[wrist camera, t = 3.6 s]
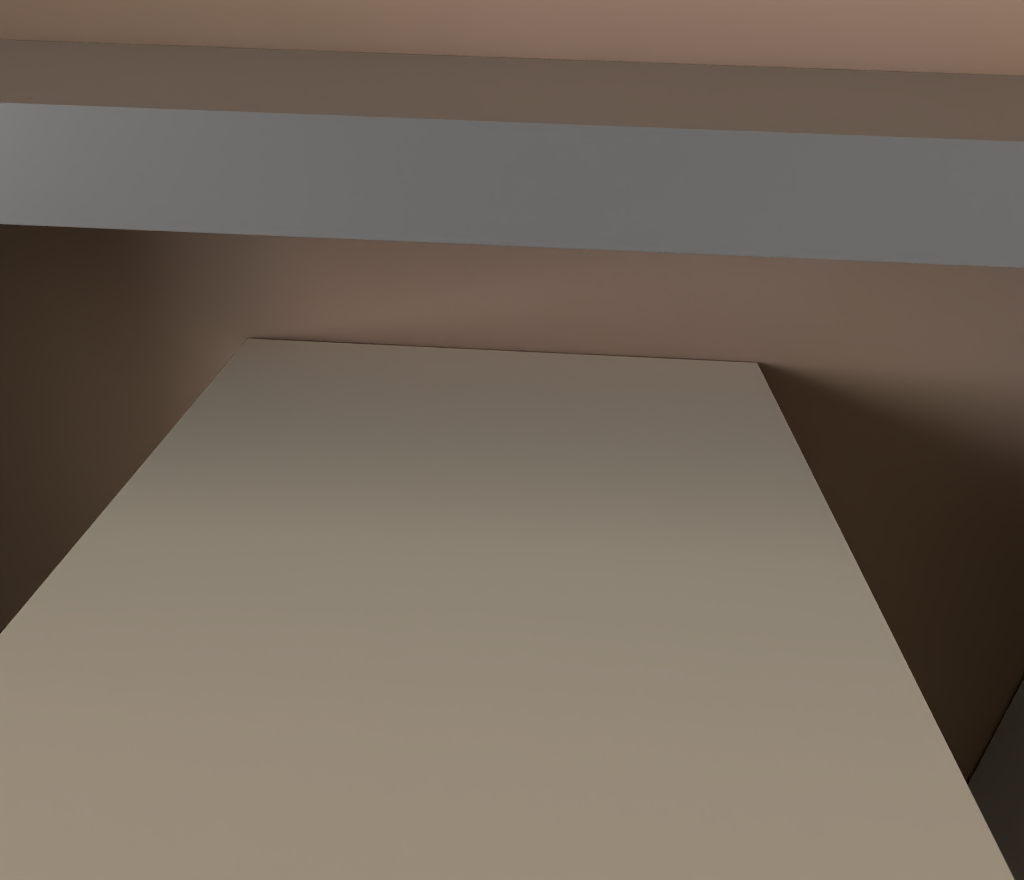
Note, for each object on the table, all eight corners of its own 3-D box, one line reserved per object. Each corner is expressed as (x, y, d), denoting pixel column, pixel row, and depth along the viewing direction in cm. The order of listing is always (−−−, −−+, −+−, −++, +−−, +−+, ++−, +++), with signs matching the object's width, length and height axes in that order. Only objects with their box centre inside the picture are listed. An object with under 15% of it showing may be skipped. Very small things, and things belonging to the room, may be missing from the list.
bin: (71, 898, 13) (-44, 1119, 11) (-348, 27, 7) (-936, 65, 4) (914, 956, 13) (1002, 1202, 10) (1415, 89, 6) (2039, 179, 4)
